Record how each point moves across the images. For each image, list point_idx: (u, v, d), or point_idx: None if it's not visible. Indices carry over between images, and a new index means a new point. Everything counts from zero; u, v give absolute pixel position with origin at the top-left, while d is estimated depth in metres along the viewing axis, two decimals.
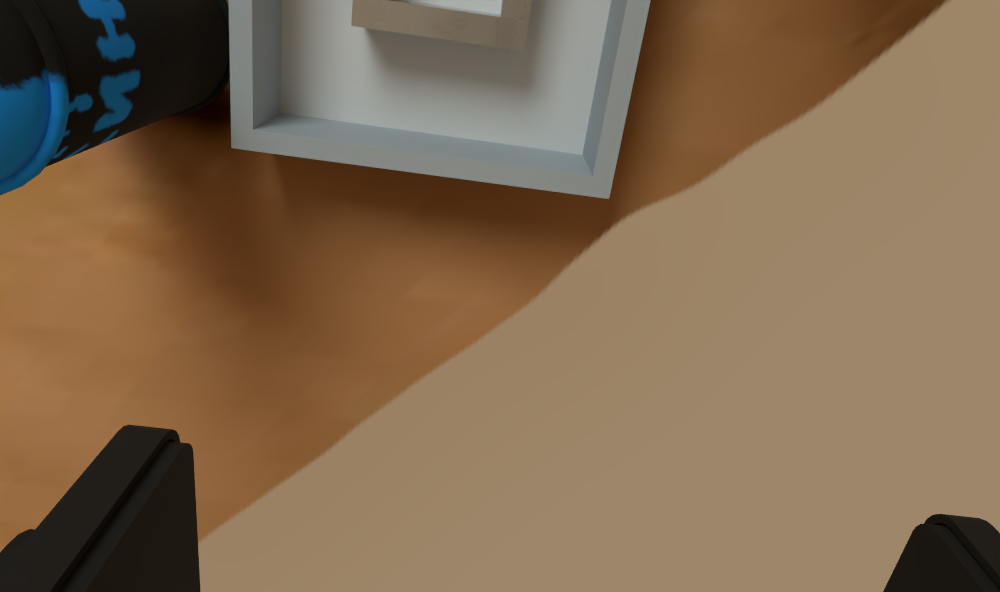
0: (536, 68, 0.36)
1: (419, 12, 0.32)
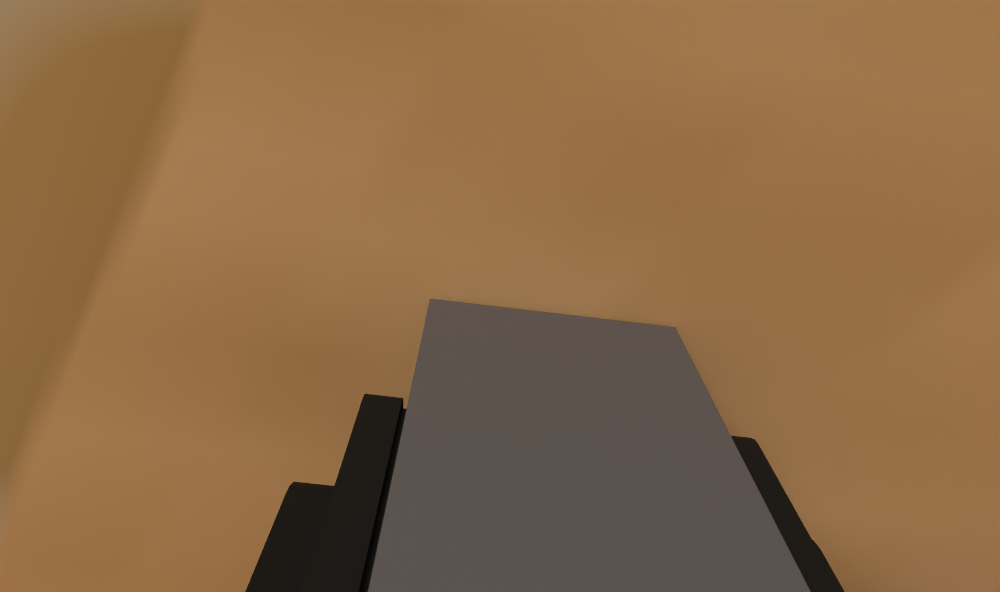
0: None
1: None
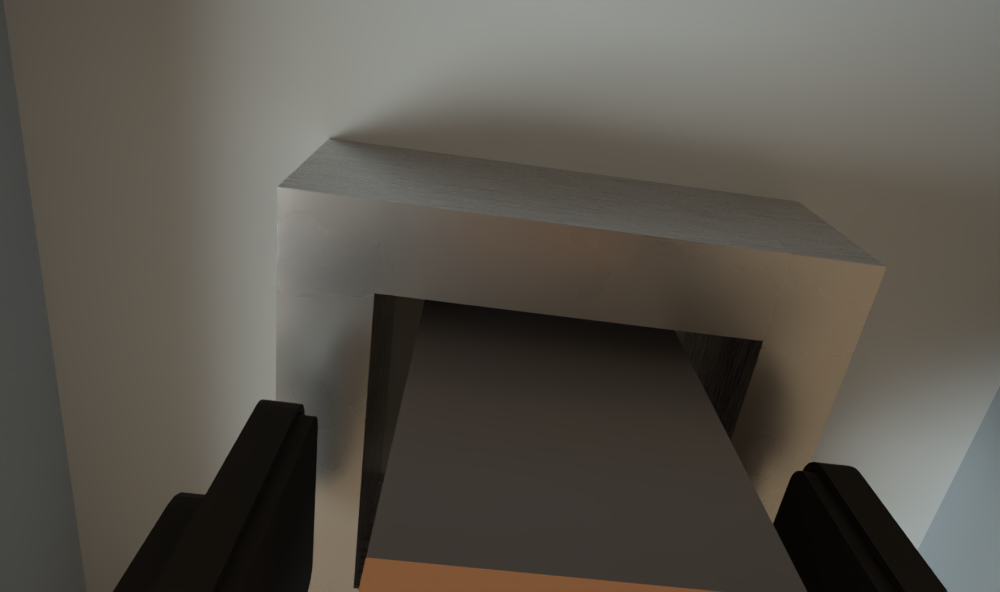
0: (872, 159, 0.12)
1: None
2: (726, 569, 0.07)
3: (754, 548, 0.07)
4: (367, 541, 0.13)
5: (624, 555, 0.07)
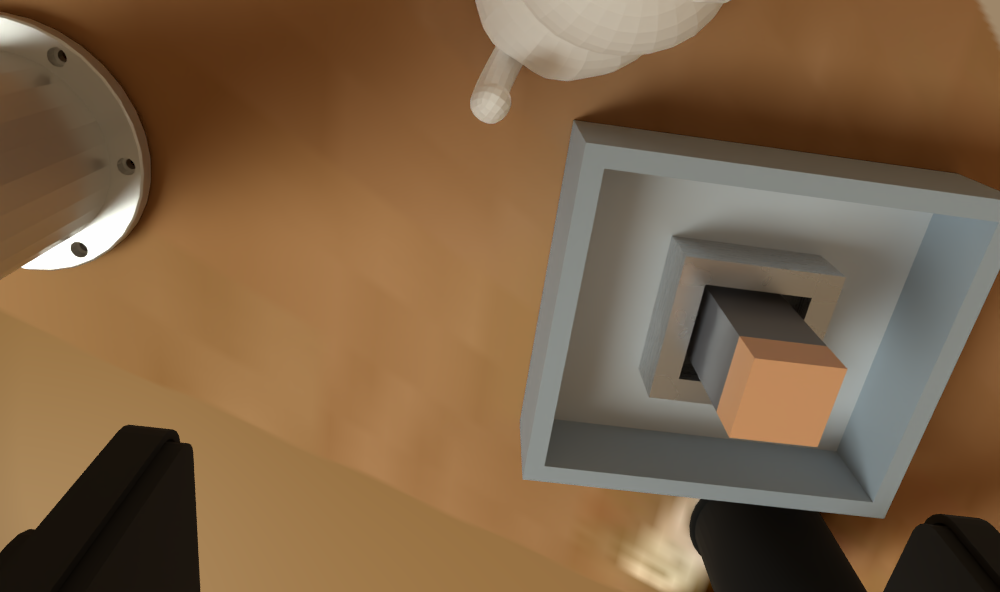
0: (844, 242, 0.37)
1: None
2: (809, 341, 0.31)
3: (814, 339, 0.32)
4: None
5: (788, 338, 0.31)
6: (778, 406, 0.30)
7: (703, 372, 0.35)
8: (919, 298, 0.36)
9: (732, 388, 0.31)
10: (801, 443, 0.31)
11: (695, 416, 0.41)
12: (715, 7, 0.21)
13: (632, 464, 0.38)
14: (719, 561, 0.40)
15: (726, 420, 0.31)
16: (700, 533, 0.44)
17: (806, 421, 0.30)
